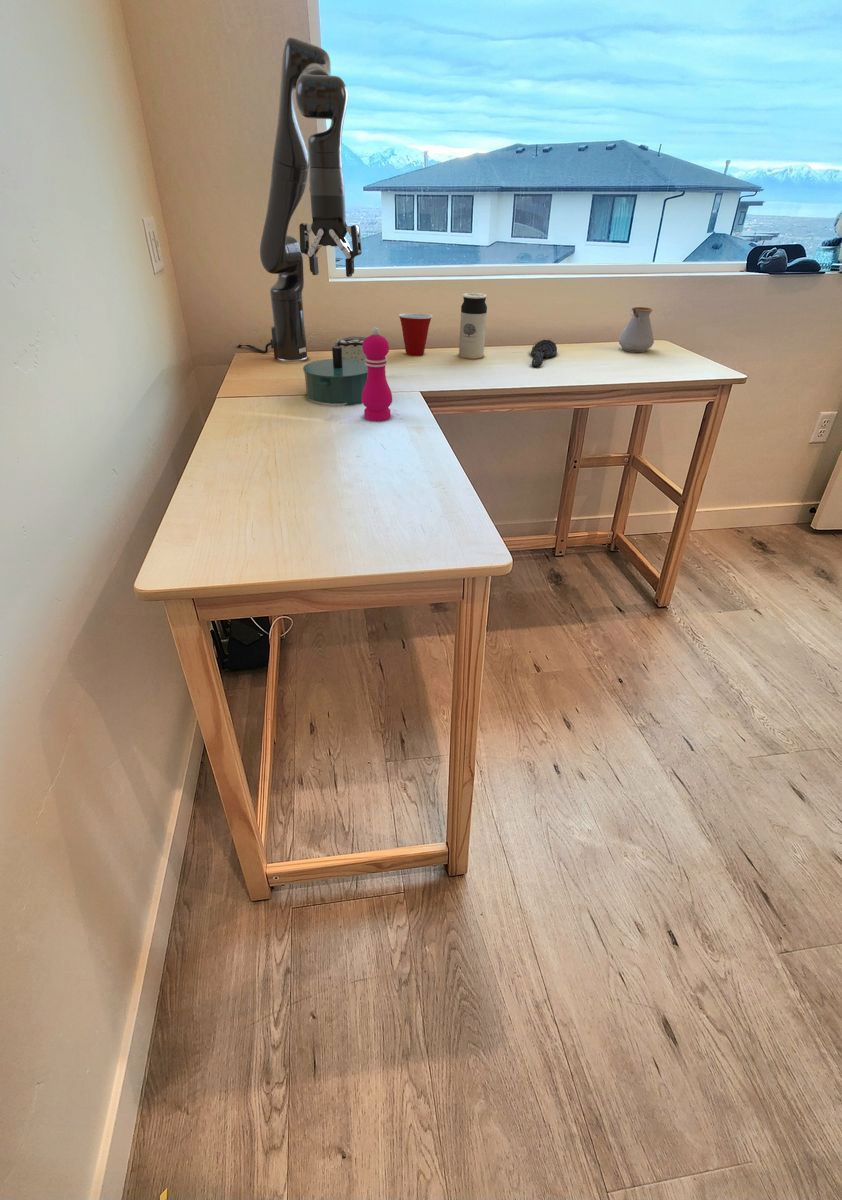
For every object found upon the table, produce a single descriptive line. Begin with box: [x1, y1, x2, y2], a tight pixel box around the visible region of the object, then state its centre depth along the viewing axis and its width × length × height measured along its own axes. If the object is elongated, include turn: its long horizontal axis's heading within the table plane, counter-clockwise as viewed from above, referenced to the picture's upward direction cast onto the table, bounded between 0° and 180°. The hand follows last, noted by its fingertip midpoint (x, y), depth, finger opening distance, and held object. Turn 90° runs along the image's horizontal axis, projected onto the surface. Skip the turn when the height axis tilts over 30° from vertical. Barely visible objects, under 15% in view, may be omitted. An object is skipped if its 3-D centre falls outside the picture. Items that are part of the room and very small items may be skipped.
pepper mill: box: [361, 327, 393, 422], centre depth 142 cm, size 7×7×20 cm
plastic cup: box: [398, 313, 433, 357], centre depth 197 cm, size 11×11×12 cm
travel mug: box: [458, 292, 488, 360], centre depth 194 cm, size 8×8×18 cm
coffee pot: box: [618, 306, 655, 353], centre depth 202 cm, size 21×12×15 cm, turn 152°
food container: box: [334, 335, 368, 362], centre depth 175 cm, size 12×6×10 cm, turn 85°
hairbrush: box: [530, 337, 558, 368], centre depth 197 cm, size 8×4×25 cm
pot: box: [304, 372, 367, 407], centre depth 159 cm, size 17×22×7 cm
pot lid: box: [302, 345, 368, 378], centre depth 156 cm, size 18×18×6 cm
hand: (332, 275), depth 145 cm, fingers open, 8 cm apart
